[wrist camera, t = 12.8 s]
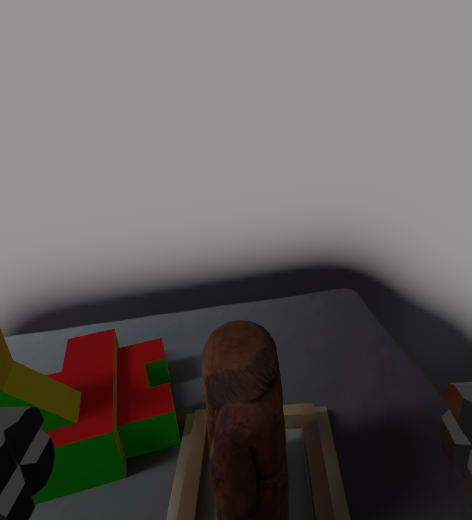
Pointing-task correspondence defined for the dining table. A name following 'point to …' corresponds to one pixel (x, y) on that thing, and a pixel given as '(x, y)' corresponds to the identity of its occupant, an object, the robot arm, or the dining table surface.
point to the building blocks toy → (96, 408)
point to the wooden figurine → (245, 423)
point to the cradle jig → (298, 464)
